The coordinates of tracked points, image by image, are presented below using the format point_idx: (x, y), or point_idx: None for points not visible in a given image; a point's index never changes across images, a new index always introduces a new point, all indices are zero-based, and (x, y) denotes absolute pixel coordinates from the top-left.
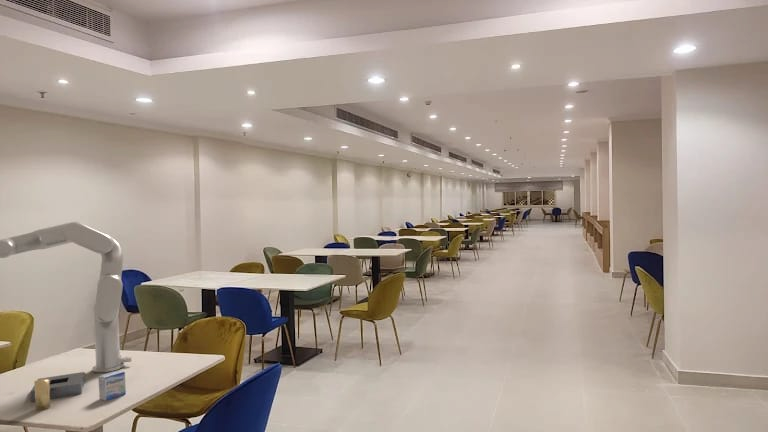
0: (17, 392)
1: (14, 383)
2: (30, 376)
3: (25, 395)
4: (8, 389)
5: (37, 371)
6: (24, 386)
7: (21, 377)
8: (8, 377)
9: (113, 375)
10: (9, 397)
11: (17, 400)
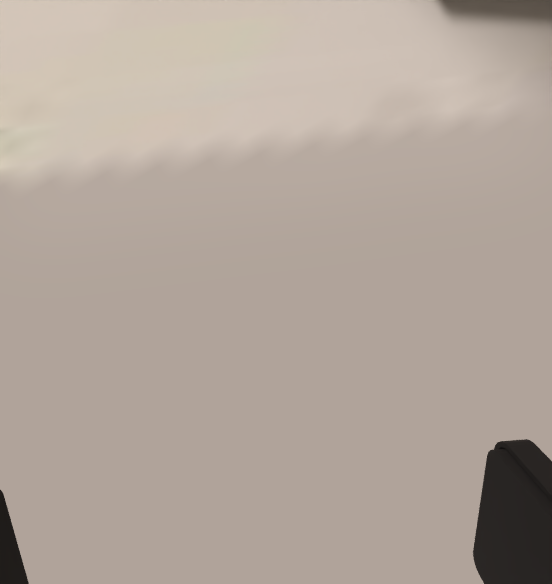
0: (409, 77)
1: (224, 112)
2: (120, 40)
3: (491, 31)
4: (323, 128)
5: (17, 7)
6: (318, 53)
7: (115, 90)
8: (76, 160)
9: None
10: (468, 105)
11: (546, 62)
